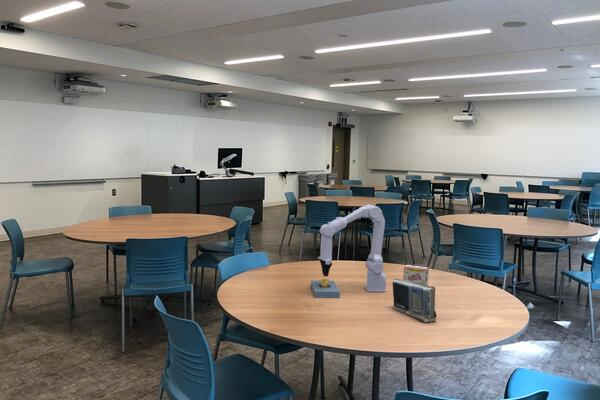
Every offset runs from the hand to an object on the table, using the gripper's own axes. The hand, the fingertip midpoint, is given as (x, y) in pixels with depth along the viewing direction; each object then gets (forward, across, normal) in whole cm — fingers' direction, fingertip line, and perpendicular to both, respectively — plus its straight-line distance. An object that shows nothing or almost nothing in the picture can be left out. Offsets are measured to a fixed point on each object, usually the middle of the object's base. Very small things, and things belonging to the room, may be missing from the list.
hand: (325, 275), depth 229 cm
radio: (+9, +33, +34) cm, 48 cm away
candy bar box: (+9, +13, +42) cm, 45 cm away
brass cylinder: (+8, 0, 0) cm, 8 cm away
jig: (+8, 0, 0) cm, 8 cm away
